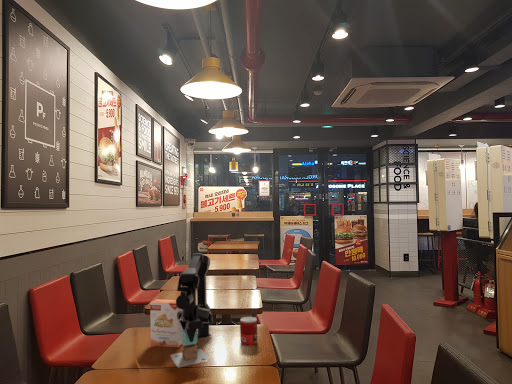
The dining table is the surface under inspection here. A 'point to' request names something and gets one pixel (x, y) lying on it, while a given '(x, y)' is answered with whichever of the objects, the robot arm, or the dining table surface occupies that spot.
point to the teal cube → (186, 339)
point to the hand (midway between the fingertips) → (189, 339)
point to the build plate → (181, 361)
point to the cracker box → (165, 323)
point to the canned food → (248, 330)
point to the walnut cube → (189, 352)
